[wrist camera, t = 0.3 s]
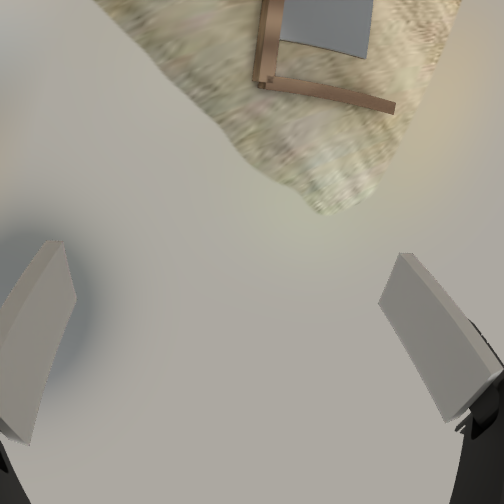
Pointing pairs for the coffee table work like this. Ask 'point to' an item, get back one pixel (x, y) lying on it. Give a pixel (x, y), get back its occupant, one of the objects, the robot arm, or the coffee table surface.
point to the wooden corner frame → (269, 81)
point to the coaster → (329, 24)
